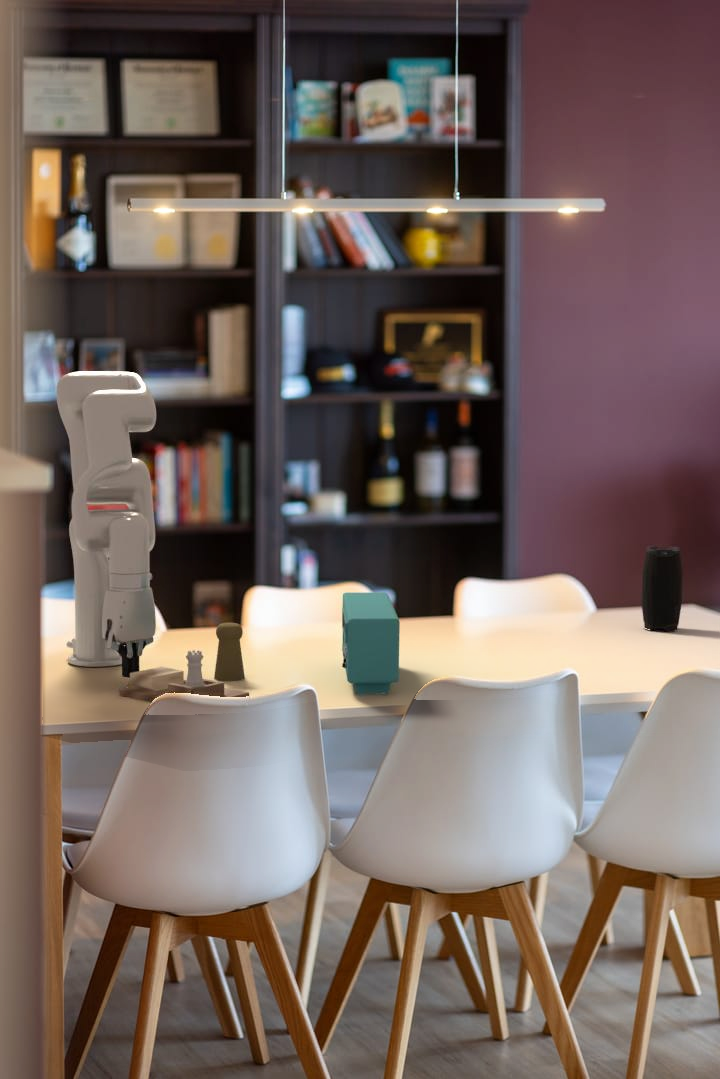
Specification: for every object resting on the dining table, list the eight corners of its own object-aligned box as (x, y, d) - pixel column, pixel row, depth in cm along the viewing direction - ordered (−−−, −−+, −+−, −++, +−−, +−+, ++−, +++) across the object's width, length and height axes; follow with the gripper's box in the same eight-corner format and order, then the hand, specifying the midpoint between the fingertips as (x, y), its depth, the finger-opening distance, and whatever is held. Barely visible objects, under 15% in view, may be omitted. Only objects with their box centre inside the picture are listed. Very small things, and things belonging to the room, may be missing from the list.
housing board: (119, 695, 276) (119, 677, 276) (174, 684, 287) (174, 666, 286) (194, 711, 263) (194, 692, 263) (249, 698, 274) (249, 680, 274)
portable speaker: (634, 627, 354) (636, 546, 352) (668, 625, 357) (671, 545, 355) (653, 633, 346) (655, 550, 344) (687, 631, 349) (690, 548, 347)
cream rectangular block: (130, 687, 277) (129, 673, 277) (161, 681, 283) (161, 666, 283) (151, 692, 273) (151, 677, 273) (183, 685, 279) (183, 670, 279)
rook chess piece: (183, 692, 274) (183, 649, 273) (207, 692, 274) (207, 649, 273) (181, 697, 269) (181, 654, 268) (206, 697, 270) (206, 653, 269)
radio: (337, 663, 309) (338, 592, 307) (387, 663, 309) (388, 592, 308) (343, 698, 275) (343, 618, 273) (399, 698, 276) (400, 618, 274)
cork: (245, 675, 296) (245, 620, 294) (244, 681, 290) (244, 625, 288) (215, 675, 295) (214, 620, 294) (213, 681, 289) (212, 625, 288)
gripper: (145, 575, 289) (146, 668, 291) (85, 583, 277) (87, 680, 279) (172, 579, 284) (173, 673, 286) (112, 587, 272) (113, 685, 274)
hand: (130, 676), depth 282 cm, fingers closed
